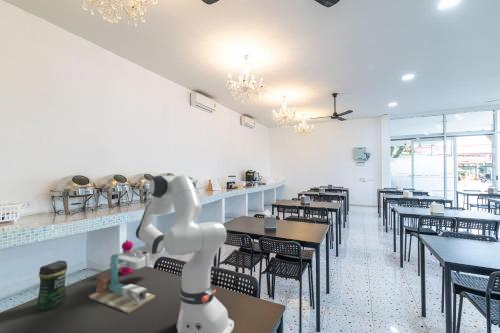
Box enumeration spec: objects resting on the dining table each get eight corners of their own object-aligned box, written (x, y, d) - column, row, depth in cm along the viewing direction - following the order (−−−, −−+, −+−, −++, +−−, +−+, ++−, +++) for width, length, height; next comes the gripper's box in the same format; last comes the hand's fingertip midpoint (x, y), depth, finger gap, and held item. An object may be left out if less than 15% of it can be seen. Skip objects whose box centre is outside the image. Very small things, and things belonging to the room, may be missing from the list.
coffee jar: (47, 312, 98) (49, 267, 98) (32, 310, 99) (34, 266, 100) (69, 300, 107) (71, 259, 108) (55, 298, 109) (57, 258, 109)
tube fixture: (154, 297, 110) (155, 280, 110) (128, 313, 97) (128, 293, 98) (116, 285, 122) (117, 269, 123) (88, 297, 110) (89, 280, 110)
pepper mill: (135, 270, 141) (136, 237, 142) (128, 275, 134) (129, 240, 135) (124, 269, 142) (125, 237, 143) (116, 274, 135) (118, 240, 136)
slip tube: (133, 293, 109) (134, 258, 109) (127, 296, 106) (128, 260, 107) (110, 285, 116) (111, 252, 117) (104, 288, 113) (105, 254, 114)
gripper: (125, 248, 129) (100, 256, 117) (151, 254, 121) (127, 262, 108) (124, 259, 129) (99, 268, 117) (150, 266, 120) (126, 276, 108)
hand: (113, 266), depth 112 cm, fingers closed on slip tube, 3 cm apart
